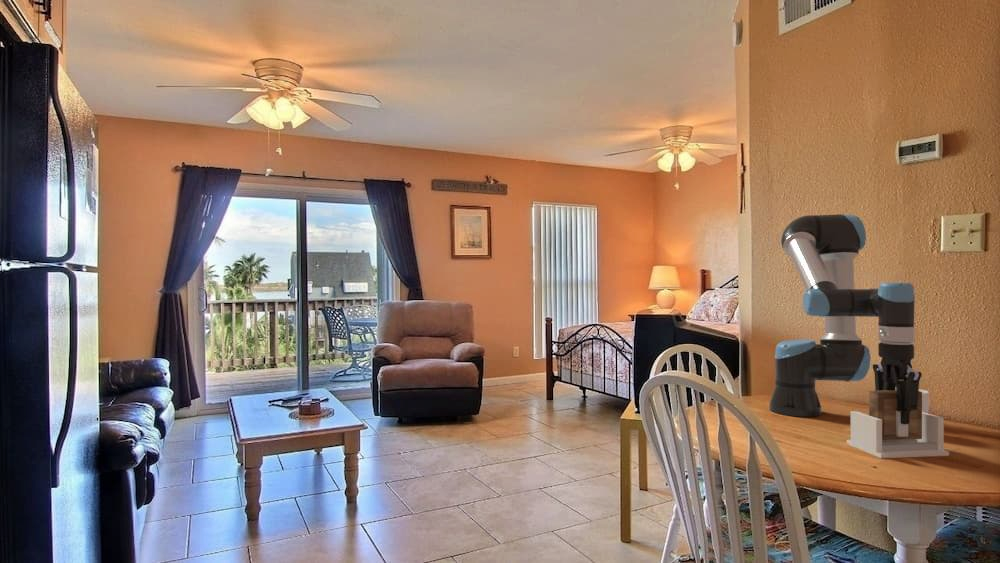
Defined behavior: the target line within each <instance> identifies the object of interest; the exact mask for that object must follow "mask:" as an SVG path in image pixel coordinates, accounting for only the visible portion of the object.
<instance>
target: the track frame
mask: <svg viewBox="0 0 1000 563" xmlns="http://www.w3.org/2000/svg"><path fill="white" fill-rule="evenodd" d="M944 419H945V418H944V417H942V416H938V415H935V414H931V413H929V412H928V413H925V412H922V439H904V440H882V420H881V419H878V418H875V417H872V416H869V414H866V413H863V412H860V411H857V410H852V411H851V410H850V439H847V440H846V444H847V445H849V446H851V447H853V448H855V449H857V450H861V451H863V452H865V453H867V454H870V455H872V456H875V457H878V458H880V459H891V458H892V459H894V458H895V459H896V458H921V457H924V458H925V457H946V456H950V451H948V450H945V446H944V445H945V440H944V439H945V436H944V435H945V434H944V433H945V429H944V428H945V425H944V424H945V423H944V422H945V420H944Z"/></svg>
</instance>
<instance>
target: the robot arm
mask: <svg viewBox="0 0 1000 563" xmlns="http://www.w3.org/2000/svg"><path fill="white" fill-rule="evenodd" d="M866 241H867V234H866V228H865V224H864V223H863V221H862V219H861V218H860V217H859V216H857V215H854V214H845V213H841V214H820V215H818V214H817V215H816V214H815V215H812V214H810V215H803V216H800V217H798V218H795V219H793V220H792V221H791V222H790V223H789V224H788V225H787V226H786V227H785V229H783V232H782V234H781V240H780V242H781V247H782V249H783V251H784V253H785V254H786V255H787V256H788V257H790V259H791V260H792V262H793V264H794V267H795V269H796V271H797V274H798V275H799V277H800V281H801V282H802V285H803V286H804V289H805V291H804V292H803V295H802V305H803V306H802V307H803V311H804V313H805V314H806V315H808V316H811V317H824V331H825V332H824V335H822V336H821V337H820V340H819V341H820V342H819V343H816V341H815V340H814V339H809V338H808V339H806V338H805V339H802V338H801V339H789V340H783V341H780V342H779V343H778V344H776V347H775V351H774V353H775V354H774V364H775V365H774V367H775V368H774V370H775V371H774V374H775V375H774V380H775V381H774V383H775V384H774V385H775V386H774V390H773V392H772V395H771V398H770V401H769V410H770V412H771V411H772V412H773V413H777V414H780V415H785V416H792V417H802V418H803V417H806V418H807V417H818V416H821V415H822V406H821V402H820V400H819V397H818V394H817V391H816V381H832V382H833V381H835V382H846V383H848V382H861V381H862V380H864V379H865V378H866V376H867V375H868V373H869V370H870V366H871V353H870V349H869V347H868V346H867V345H866V344H863V341H862V340H863V339H862V338H861V337H860V336H859V335H857V330H856V329H857V324H856V317H867V318H869V317H872V318H873V317H877V318H878V340H879V343H878V351H877V352H878V357H879V358H881V359H880V360H881V361H880V363H875V364H872V370H873V372H874V385H875V386H874V389H875V390H874V391H878V390H895V388H896V391H897V399H898V407H899V409H896V436H898V437H906V436H908V424H909V423H910V419H909V418H910V411H912V410H917V407H918V392H919V389H920V381H921V378H922V372H921V371H916V370H915V369H913V365H912V362H911V361H912V360H914V359H915V345H914V344H912V343H914V342H915V299H916V296H915V286H914V284H912V283H911V282H880V284H879V285H878V288H855V273H854V272H855V271H854V270H855V269H854V267H855V266H854V260H855V259H856V258H857V257H858V256H859V254H860V253H859V251H860V250H863V249H864V247H865V246H866ZM904 405H905V406H904Z"/></svg>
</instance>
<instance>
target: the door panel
mask: <svg viewBox="0 0 1000 563" xmlns="http://www.w3.org/2000/svg"><path fill="white" fill-rule="evenodd" d="M868 392H869V393H868V403H869V404H868V405H869V406H868V415H869V416H872V417H875V418H878V419H881V420H882V440H904V439H922V392H920V391H919V392H918V407H917V410H912V411H910V418H909V419H910V423H909V424H908V436H906V437H898V436H896V409H899V407H898V399H897V391H896V390H878V391H875V390H869V391H868ZM904 406H905V405H904Z"/></svg>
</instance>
